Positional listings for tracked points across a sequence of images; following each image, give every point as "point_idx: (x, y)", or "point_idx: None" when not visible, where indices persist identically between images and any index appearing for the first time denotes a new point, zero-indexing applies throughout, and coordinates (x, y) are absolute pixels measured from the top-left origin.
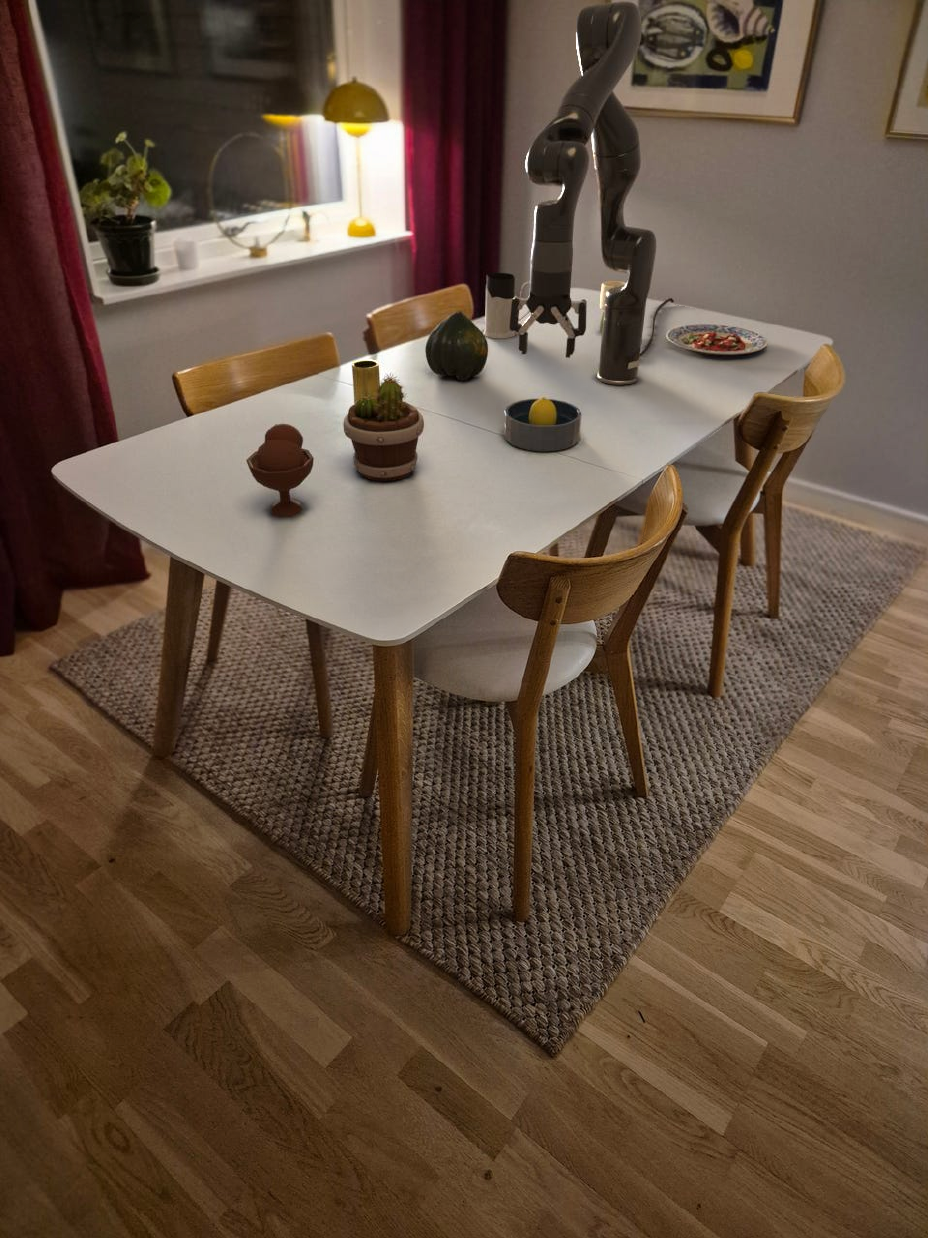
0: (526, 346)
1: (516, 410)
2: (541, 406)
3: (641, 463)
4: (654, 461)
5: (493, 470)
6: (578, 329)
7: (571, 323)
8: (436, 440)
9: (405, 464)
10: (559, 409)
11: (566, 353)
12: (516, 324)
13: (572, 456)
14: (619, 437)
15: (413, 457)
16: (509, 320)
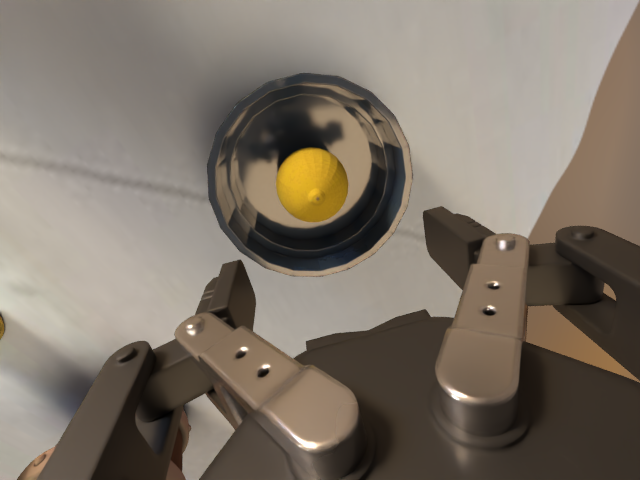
0: (244, 290)
1: (221, 157)
2: (320, 218)
3: (526, 193)
4: (550, 172)
5: (291, 338)
6: (570, 318)
7: (527, 274)
8: (119, 288)
9: (183, 445)
10: (322, 85)
11: (437, 261)
12: (168, 404)
13: (397, 226)
14: (471, 79)
15: (178, 428)
16: None
